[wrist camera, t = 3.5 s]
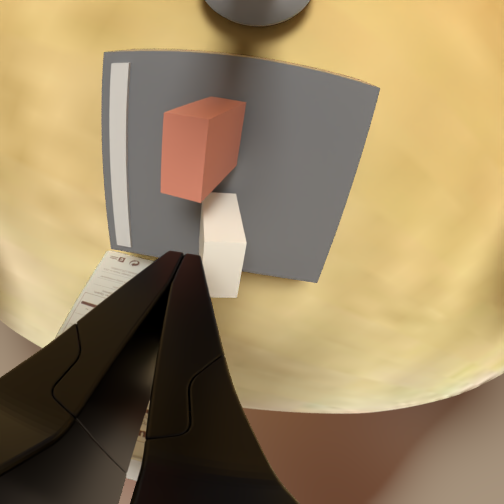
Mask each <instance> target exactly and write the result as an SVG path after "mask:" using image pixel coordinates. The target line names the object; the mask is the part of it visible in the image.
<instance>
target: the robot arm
mask: <svg viewBox="0 0 504 504" xmlns="http://www.w3.org/2000/svg"><path fill="white" fill-rule="evenodd" d="M149 401H150V404H149ZM148 404H149V411H148V419H147V427H146V435H145V439H146V441H145V444H144V452H143V458H142V463H141V468H140V472H139V475H138V478H137V482H136V486H135V489H134V492H133V496H132V499H131V502H130V504H300V503H299V502H298V501H297V500H296V499H295V498H294V497H293V496H292V495H291V494H290V493H289V491H288V490H287V489H286V488H285V487H284V486H283V484H282V483H281V482H280V480H279V479H278V477H277V476H276V474H275V473H274V471H273V469H272V468H271V466H270V464H269V462H268V460H267V459H266V457H265V455H264V453H263V451H262V449H261V447H260V444H259V443H258V440H257V438H256V436H255V434H254V432H253V430H252V428H251V426H250V424H249V422H248V420H247V418H246V415H245V413H244V411H243V409H242V406H241V404H240V401H239V399H238V396H237V394H236V391H235V389H234V385H233V382H232V379H231V376H230V373H229V369H228V365H227V362H226V358H225V357H224V351H223V347H222V343H221V339H220V335H219V331H218V327H217V323H216V319H215V315H214V311H213V306H212V302H211V298H210V294H209V289H208V285H207V281H206V276H205V272H204V267H203V263H202V258H201V256H200V255H195V254H189V253H187V254H185V255H184V253H183V252H177V251H168V252H166V253H165V254H163V255H162V256H161V257H159V258H158V259H157V260H155V261H154V262H153V263H151V264H150V265H149V266H147V267H146V268H145V269H143V270H142V271H141V272H139V273H138V274H137V275H135V276H134V277H133V278H132V279H130V280H129V281H128V282H126V283H125V284H124V285H122V286H121V287H120V288H119V289H117V290H116V291H115V292H113V293H112V294H111V295H110V296H108V297H107V298H106V299H104V300H103V301H102V302H101V303H99V304H98V305H97V306H96V307H94V308H93V309H92V310H91V311H89V312H88V313H87V314H86V315H84V316H83V317H82V318H81V319H79V320H78V321H77V324H73V325H72V326H71V327H69V328H68V329H67V330H66V331H65V332H63V333H62V334H61V335H59V336H58V337H57V338H56V339H54V340H53V341H52V342H51V343H49V344H48V345H47V346H45V347H44V348H42V349H41V350H40V351H38V352H37V353H35V354H34V355H33V356H31V357H30V358H28V359H27V360H25V361H24V362H22V363H21V364H19V365H18V366H16V367H15V368H14V369H12V370H11V371H9V372H8V373H6V374H5V375H4V376H2V377H1V378H0V504H118V503H119V499H120V496H121V493H122V489H123V486H124V482H125V478H126V475H127V474H126V473H127V471H128V468H129V465H130V461H131V458H132V454H133V451H134V448H135V445H136V441H137V438H138V435H139V432H140V428H141V425H142V422H143V419H144V416H145V413H146V410H147V407H148Z"/></svg>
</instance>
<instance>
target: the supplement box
mask: <svg viewBox="0 0 504 504" xmlns="http://www.w3.org/2000/svg"><path fill="white" fill-rule="evenodd" d="M153 262H154V261H151V260H146V259H143V258H139V257H135V256H131V255H127V254H123V253H119V252H115V251H107V252H106V253H105V255H104V256H103V258H102V260H101V261H100V263H99V264H98V266H97V267H96V269H95V270H94V272H93V274H92V275H91V277H90V279H89V280H88V282H87V284H86V285H85V287H84V289H83V290H82V292H81V293H80V295H79V297H78V299H77V300H76V302H75V304H74V305H73V307H72V309H71V311H70V312H69V314H68V316H67V318H66V319H65V321H64V323H63V325H62V326H61V328H60V330H59V332H58V334H57V336H56V338H57V337H58V336H59V335H61V334H62V333H63V332H65V331H66V330H67V329H68V328H69V327H71V326H72V325H73V324H77V321H78V320H79V319H81V318H82V317H83V316H84V315H86V314H87V313H88V312H89V311H91V310H92V309H93V308H94V307H96V306H97V305H98V304H99V303H101V302H102V301H103V300H104V299H106V298H107V297H108V296H110V295H111V294H112V293H113V292H115V291H116V290H117V289H119V288H120V287H121V286H122V285H124V284H125V283H126V282H128V281H129V280H130V279H132V278H133V277H134V276H135V275H137V274H138V273H139V272H141V271H142V270H143V269H145V268H146V267H147V266H149V265H150V264H151V263H153ZM56 338H55V339H56ZM149 404H150V401H149ZM149 404H148V407H147V410H146V413H145V416H144V419H143V422H142V425H141V428H140V432H139V435H138V438H137V441H136V445H135V448H134V451H133V454H132V458H131V461H130V465H129V468H128V471H127V473H126V474H127V475H126V478H128V479H132V480H135V481H137V478H138V475H139V472H140V468H141V463H142V458H143V452H144V444H145V441H146V439H145V435H146V427H147V419H148V411H149Z"/></svg>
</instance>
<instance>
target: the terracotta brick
mask: <svg viewBox="0 0 504 504" xmlns="http://www.w3.org/2000/svg"><path fill="white" fill-rule="evenodd" d="M245 108H246V102H242V101H237V100H231V99H225V98H219V97H212V96H211V97H207V98H204V99H201V100H198V101H195V102H192V103H189V104H186V105H183V106H181V107H178V108H175V109H172V110H169V111H167V112H164V117H163V135H162V157H161V193H164V194H168V195H172V196H176V197H180V198H184V199H187V200H191V201H195V202H199V203H201V202H202V201H203V200H204V199H205V198H206V197H207V196H208V195H209V194H210V193H211V192H212V191H213V189H214V188H215V187H216V186H217V185H218V184H219V183H220V182H221V181H222V180H223V179H224V178H225V177H226V176H227V175H228V174H229V173H230V172H231V171H232V170H233V169H234V168H235V167H236V166H237V160H238V153H239V146H240V140H241V133H242V127H243V121H244V114H245Z"/></svg>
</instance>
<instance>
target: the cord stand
mask: <svg viewBox="0 0 504 504" xmlns="http://www.w3.org/2000/svg"><path fill="white" fill-rule="evenodd" d="M205 1H206V2H207V4H208V5H209V6H210V7H211V8H212V9H213V10H214V11H216V12H217V13H218V14H220V15H221V16H223V17H225V18H227V19H228V20H231V21H233V22H235V23H239V24H242V25H247V26H257V27H258V26H270V25H275V24H279V23H282V22H284V21H287V20H289V19H291V18H292V17H294V16H295V15H297V14H298V13H299V12H300V11H302V10H303V9H304V7H305V6H306V5H307V4H308V2H309V1H310V0H205Z"/></svg>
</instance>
